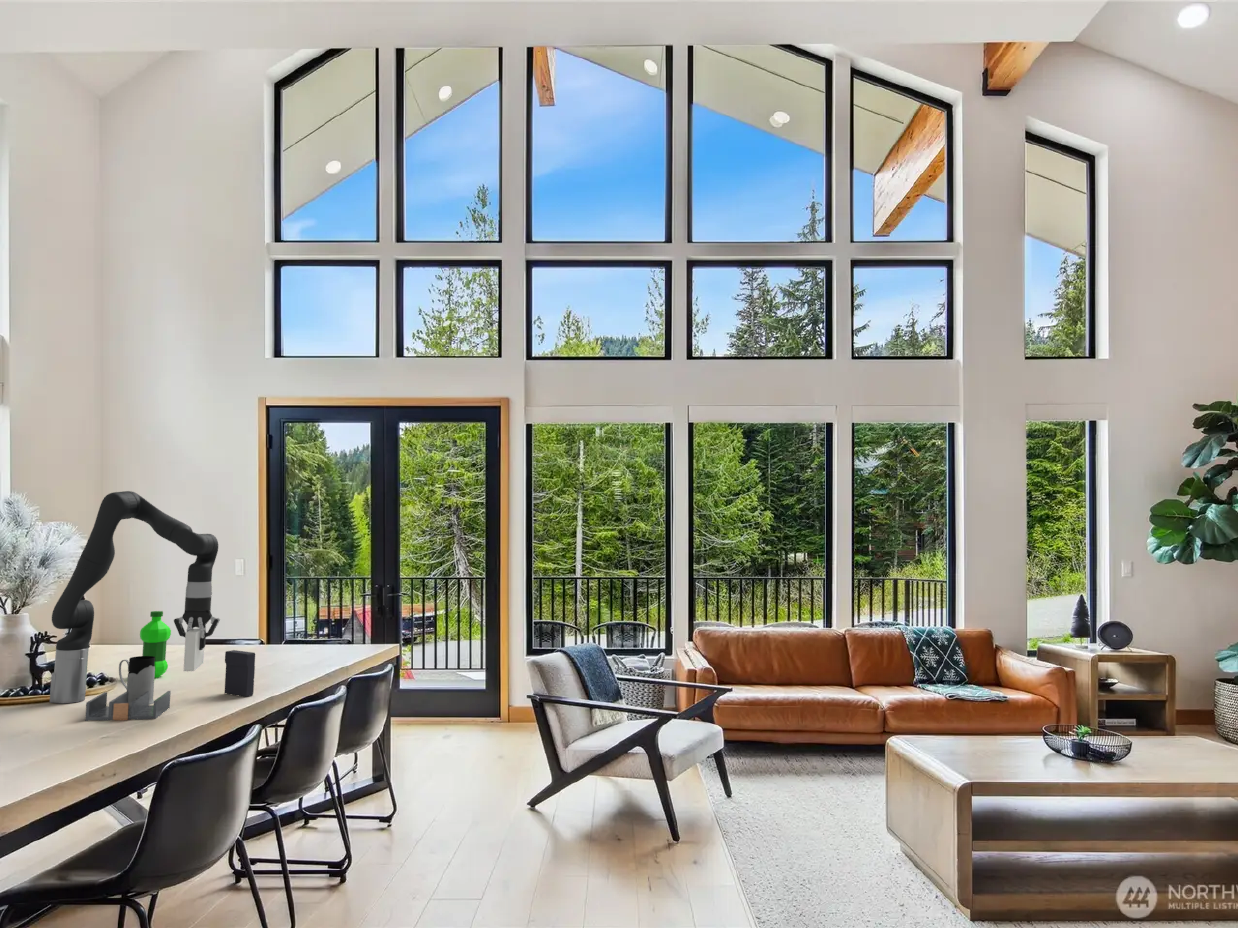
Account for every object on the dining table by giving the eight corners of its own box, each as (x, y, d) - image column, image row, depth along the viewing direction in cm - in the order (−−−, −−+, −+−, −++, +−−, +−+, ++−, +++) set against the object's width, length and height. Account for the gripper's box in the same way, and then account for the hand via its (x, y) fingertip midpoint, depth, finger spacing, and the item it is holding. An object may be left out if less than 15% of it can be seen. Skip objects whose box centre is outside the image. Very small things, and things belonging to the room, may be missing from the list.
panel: (183, 671, 261) (185, 632, 261) (193, 663, 272) (195, 626, 273) (193, 671, 261) (196, 632, 262) (203, 662, 273) (205, 626, 274)
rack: (84, 721, 252) (85, 702, 252) (103, 709, 267) (104, 692, 267) (155, 719, 256) (156, 701, 257) (169, 707, 271) (170, 690, 272)
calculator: (255, 695, 294) (257, 652, 295) (244, 697, 290) (247, 653, 291) (232, 691, 298) (235, 649, 299) (222, 693, 294) (225, 651, 295)
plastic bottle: (164, 673, 328) (168, 609, 330) (170, 677, 320) (174, 612, 322) (135, 675, 322) (139, 610, 324) (140, 680, 314) (144, 613, 315)
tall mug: (138, 707, 272) (141, 660, 273) (105, 702, 276) (108, 657, 277) (160, 701, 280) (163, 656, 281) (128, 697, 284) (131, 653, 285)
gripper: (171, 596, 263) (167, 651, 262) (219, 596, 267) (215, 651, 266) (178, 594, 271) (174, 647, 270) (224, 594, 274) (221, 647, 273)
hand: (195, 649), depth 268 cm, fingers closed on panel, 3 cm apart
